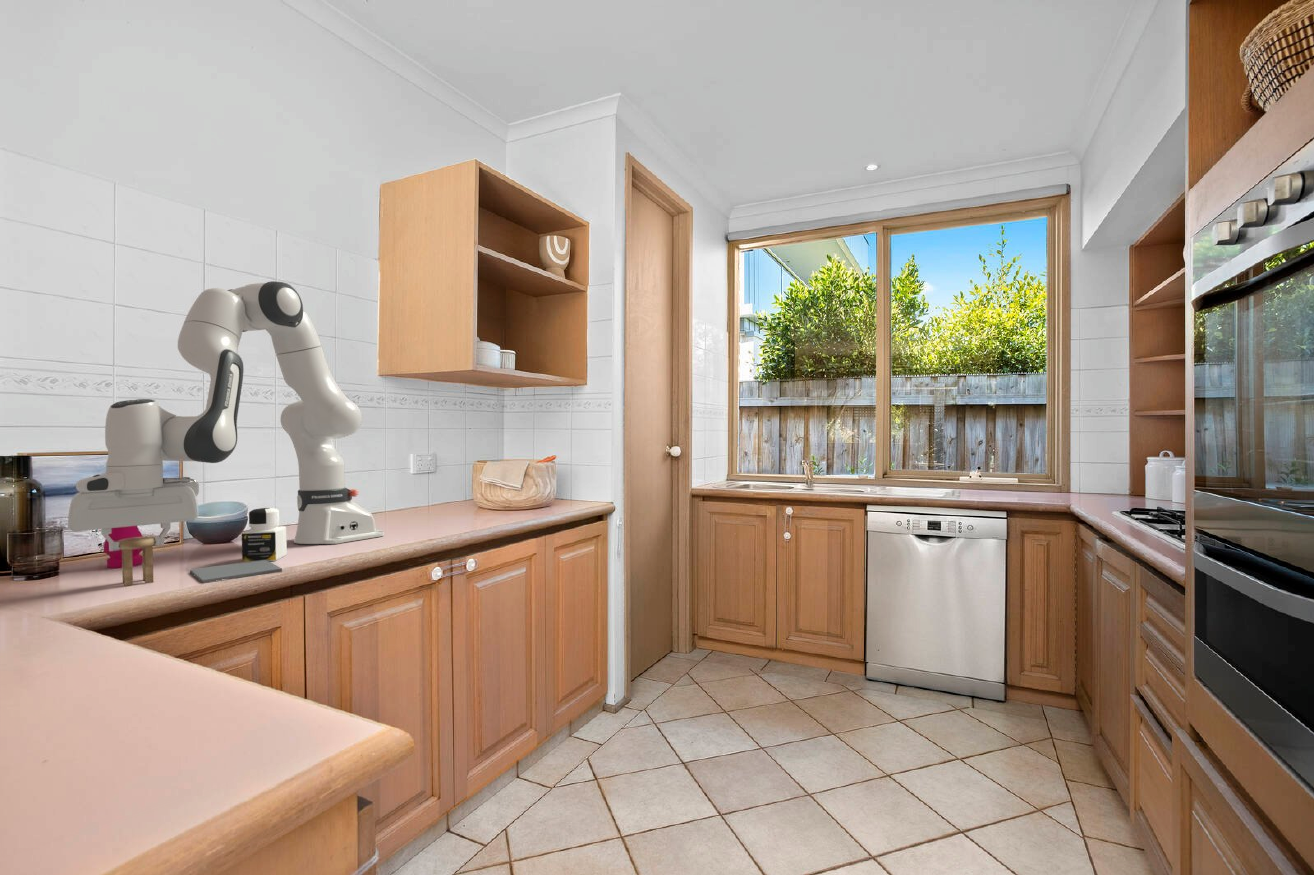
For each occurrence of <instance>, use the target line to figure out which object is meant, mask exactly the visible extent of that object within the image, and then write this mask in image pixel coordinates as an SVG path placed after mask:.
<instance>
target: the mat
mask: <svg viewBox="0 0 1314 875" xmlns="http://www.w3.org/2000/svg"><path fill="white" fill-rule="evenodd" d="M189 572H191V573H190V574H192V576H194V575H195V576H196V577H197V578H198V580H199V579H200V580H201V581H202V582H208V583H210V582H209V581H214V582H217V581H216V580H221V581H223V580H222V579H227V580H233V579H240V578H246V577H252V576H259V575H265V574H272V573H278V572H280V573H281V572H283V568H282V567H280V566H278V565H276V564H274V563H273V562H272V561H267V560H265V559H264V560H257V561H250V562H237V563H229V564H228V563H227V564H220V565H216V566H215V565H214V566H209V567H207V566H206V567H200V568H199V567H198V568H193V569H190V570H189ZM195 576H194V577H195ZM196 577H195V578H196ZM197 578H196V579H197ZM200 580H199V581H200ZM201 581H200V582H201ZM202 582H201V583H202Z"/></svg>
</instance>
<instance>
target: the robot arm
mask: <svg viewBox="0 0 1314 875" xmlns="http://www.w3.org/2000/svg"><path fill="white" fill-rule="evenodd" d="M264 330H265V331H266V332H267V333H268V334H269V336H270V338H271V342H272V345H273V349H274V353H275V356H276V359H277V362H278V365H279V368H280V371H281V374H282V376H283V380H284V382H285V384H286V385H287V386H288V387H289V388H292V390H293V391H295V393H296V394H297V395H298V396H299V398H300V400H297V401H296V402H295V401H294V402H293V403H292V402H291V403H290V404H288V405H286V406H285V408H283V410H282V411H281V414H280V424H281V425H280V426H281V428H282V430H284V431H285V432H286V434H288V436H289V437H290V440H291V442H292V445H293V448H294V450H295V453H296V457H297V458H296V459H297V463H298V480H299V483H298V484H299V485H298V486H299V489H298V490H297V496H296V499H297V501H296V502H297V504H296V505H297V510H298V519H297V520H298V522H297V527H296V531H295V532H296V533H295V536H294V540H293V543H294V544H300V545H319V544H320V545H321V544H322V545H323V544H324V545H335V544H337V545H338V544H342V543H343V544H344V543H348V542H353V541H354V542H355V541H359V540H360V541H361V540H366V539H372V538H378V537H384V535H385V532H384V530H382V529H378V528H376V520H375V518H374V514H373V513H372V512H370V511H369V510H368V509H366V508H364V507H362V506H361V505H359V504H358V503H357V502H355V501H354V500H353V498H356V497H358V495H359V491H358V490H357V489H353V488H352V489H349V488H347V487H345V486H346V485H345V483H346V482H345V481H346V480H345V461H344V459H343V457H342V456H341V455H340V454H339V452H337V449H336V447H335V444H334V442H333V441H334V440H333V439H336V440H337V439H343V438H345V437H349V436H352V435H353V434H355V433H356V432H358V430H359V429H360V427H361V425H362V423H363V422H362V420H363V417H362V416H363V414H362V412H361V410H360V408H359V407H358V405H357V404H356V403H354V402H353V401H352V400H350V399H349V398H348V397H347V396H346V395H345V394H344V392H343V391H342V390H341V388H340V386H339V385H338V384H337V382H336V380H335V379H334V376H333V375H332V372H331V370H330V367H329V365H328V362H327V359H326V355H325V353H324V350H323V346H322V342H321V340H320V337H319V335H318V332H317V330H316V327H315V325H314V324H313V322H312V319H311V317H310V316H309V315H308V313H307V312H306V311H304V306H303V301H302V297H301V296H300V294H299V293H298V292H297V290H296V289H295V288H294V287H293V286H292V285H291V284H289V283H286V282H283V281H274V280H273V281H268V282H267V281H266V282H260V283H259V282H258V283H257V282H255V283H250V284H246V285H244V286H240V287H237V288H234V289H228V290H227V289H223V288H219V287H217V288H216V287H215V288H214V287H213V288H208V289H205V290H204V291H202V292H200V294H199V295H198V297H197V298H196V300H195V301H194V302H193V303H192V305H191V307H190V309H189V310H188V313H187V315H186V317H185V320H184V321H183V324H182V327H181V330H180V332H179V335H178V339H177V350H178V352H179V354H180V356H181V357H182V359H183V360H185V361H186V362H187V363H188V364H190V365H191V366H192V367H194V368H196V369H197V370H200V371H202V372H204V373H206V374H208V375H209V377H210V384H209V390H208V395H207V399H206V405H205V406H206V407H205V410H204V411H203V412H201V413H200V414H198V415H195V416H192V415H191V416H181V415H180V416H178V415H177V414H173V413H171V412H169V411H167V410H166V409H164V408H162V407H161V406H160V405H158V402H157V401H156V400H154V399H149V398H147V399H145V398H140V399H139V398H138V399H128V400H122V401H117V402H115V403H113V404H111V405H110V406H109V408H108V410H107V413H106V418H105V427H104V434H105V435H104V442H105V447H106V450H107V455H108V457H107V460H106V463H105V473H100V474H94V475H93V476H88V477H86V478H83V479H80V480H78V481H77V482H75V488H76V490H77V493H75V494H74V495H73V496H72V498H71V501H70V503H69V510H68V516H67V517H68V518H67V527H68V529H69V530H71V531H72V532H83V531H84V532H85V531H92V530H93V531H94V530H95V531H97V530H100V532H101V535H102V536H103V537H104V539H105V540H107V541H108V542H109V551H117V550H120V547H119V541H113V540H112V539H111V538H110V537H109V535H108V534H111V528H118V527H129V526H137V527H138V526H149V525H160V528H161V529H162V530H161V532H160V534H159V535H158V536H154V537H155V546H154V547H160V546H164V545H165V537H166V536H167V535H168V533H169V531H170V530H171V524H172V523H180V522H181V523H183V522H192V521H193V522H194V521H195V520H196V519H198V517H199V515H200V514H199V506H198V501H197V500H198V499H197V496H198V495H199V493H200V489H199V488H200V485H199V483H198V481H197V480H196V479H194V478H191V477H190V476H189V477H188V476H184V477H183V476H182V477H164V466H163V465H164V464H163V462H164V461H167V462H169V461H170V462H197V463H206V464H217V463H220V462H223V461H225V460H226V459H228V458H229V456H230V455H231V454H232V453H233V452H234V450H235V449H236V446H237V444H238V443H237V442H238V426H237V425H238V416H239V415H238V414H239V408H240V402H241V395H242V394H241V393H242V388H243V382H244V381H243V380H244V371H245V370H244V362H243V359H242V357H241V356H240V355H239V354H238V353H239V352H238V350H239V345H240V341H241V339H242V336H243V333H244V332H251V331H253V332H254V331H264Z"/></svg>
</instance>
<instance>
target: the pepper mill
mask: <svg viewBox="0 0 1314 875" xmlns="http://www.w3.org/2000/svg"><path fill="white" fill-rule="evenodd" d="M108 535H109V537H110V538H111V539H112V540H113V541H119V540H121V539H127V538H134V537H144V535H143V534H142V533H141V530H140V529H139V527H138V526H129V527H118V528H111V534H108ZM103 552H104V553H105V554H106V555H107V556H109V558H107V559H106V567H107V568H108V567H109V568H108V569H120V568H121V567H122V549H120V550H117V551H109V542H108V541H107V540H106V539H105V540H104V543H103ZM140 553H142V548H140V549H132V567H135V566H140V565H143V558H142V554H140ZM121 569H122V568H121Z"/></svg>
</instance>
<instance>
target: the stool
mask: <svg viewBox="0 0 1314 875" xmlns="http://www.w3.org/2000/svg"><path fill="white" fill-rule="evenodd" d="M155 537H156V536H143V537H134V538H127V539H121V540H119V547H120V549H122V568H121V569H122V574H121V575H122V583H123V584H124V586H125V587H129V586H128V585H130V586H134V578H133V576H134V574H133V572H134V571H133V569H134V568H133V567H134V566H132V549H140V548H142V551H141V553H142V554H141V555H142V558H143V563H142V580H143V581H144V580H145V581H144V582H145V584H151V583H154V550H153V547H156V546H155ZM150 582H151V583H150Z"/></svg>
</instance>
